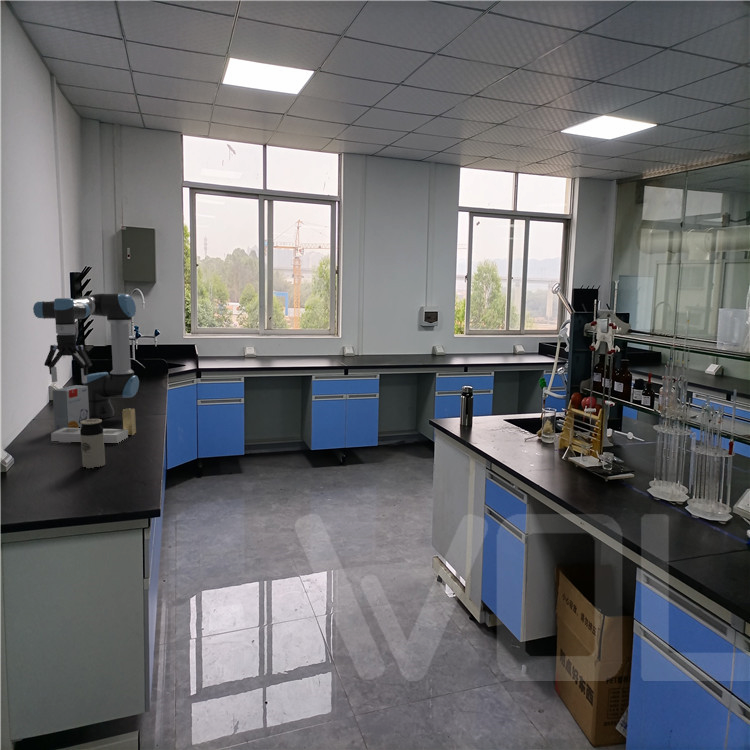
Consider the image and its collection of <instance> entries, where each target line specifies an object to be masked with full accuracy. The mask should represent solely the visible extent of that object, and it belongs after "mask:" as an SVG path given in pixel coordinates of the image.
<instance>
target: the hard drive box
mask: <svg viewBox="0 0 750 750" xmlns="http://www.w3.org/2000/svg"><path fill="white" fill-rule="evenodd" d="M52 402H53V403H52V404H53V420H54V421H53V422H54V432H55V431H57V430H60V429H62V428H79V427H80V428H82V425H81V423H80V422H81V421H83V420H87V419H89V402H88V386H84V385H80V384H79V385H77V384H75V385H71V386H70V385H69V386H66V387H60V388H57V389H53V390H52Z"/></svg>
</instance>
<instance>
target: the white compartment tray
mask: <svg viewBox="0 0 750 750" xmlns="http://www.w3.org/2000/svg"><path fill="white" fill-rule="evenodd" d="M81 428H82V427H80V428H62V429H60V430H57V431H55V430H54V431H53V432H51V433H50V437H51V442H52V441H59V442H58V443H71V442H81V435H80V430H81ZM103 435H104V443H118V444H120V443H122V442H123V441H125V440H127V439H128V438H129V436H128V429H123V428H121V429H120V428H103ZM126 438H127V439H126ZM124 439H125V440H124ZM122 440H123V441H122ZM121 441H122V442H121ZM119 442H120V443H119Z"/></svg>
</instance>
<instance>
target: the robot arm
mask: <svg viewBox="0 0 750 750" xmlns="http://www.w3.org/2000/svg"><path fill="white" fill-rule="evenodd" d="M136 306H137V305H136V303H135V301H134V299H133V297H132V296H131V295H130V294H127V293H96V294H89V295H85V296H84V295H83V296H80V297H79V298H75V299H74V298H68V297H65V298H63V297H62V298H61V297H60V298H58V297H57V298H54V300H52V301H37V302H35V303H33V308H32V309H33V315H34V316H35V317H36V318H37V319H43V320H45V319H54V320H55V333H56V334H57V335H56V343H57V344H51V345H49V346H50V347H49V352H48V353H47V357H46V359H45V362H44V366H45V367H48V369H49V370H48V371H49V375H51V383H57V382H58V372H57V371H58V370H57V366H56V365H57V364H58V362H59V361H60V359H61V358H62V357H63V356H69V357H70V356H71V357H73V358H74V359H75V360H76V362H77V363H78V365H80V367H82V368H80V371H81V372H80V374H81V384H83V386H88V402H89V419H100V418H104V419H108V417H109V418H112V417H115V410H114V408H113V407H114V406H113V405H112V403H111V398H122V399H126V398H133V397H135V396H136V394H137V392H138V390H139V386H140V380H139V377H138V375H135V371H134V370H133V369H132V368H131V367H132V365H131V349H130V348H131V347H130V344H131V343H130V326H129V325H130V323H131V322H132V318H133V317H135V315H136V312H137V311H136V310H137V309H136V308H137V307H136ZM89 316H97V317H106V321H107V322H109V324H110V337H111V339H110V341H111V356H112V357H111V358H112V370H111V371H110V372H107V371H103V372H95V373H89V367H92V366H93V363H92V361H91V360H90V357H89V356H88V355H87V352H86V351H85V346H84V345H83V344H81V345H77V335H76V331H77V329H76V320H83V319H86V318H87V317H89ZM56 352H57V353H56Z"/></svg>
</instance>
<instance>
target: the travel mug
mask: <svg viewBox="0 0 750 750" xmlns="http://www.w3.org/2000/svg"><path fill="white" fill-rule="evenodd" d="M102 422H103V420H102V419H87V420H83V421H81V422H80V423H81V425H82V427H80V428H81V430H80V435H81V443H80V444H81V445H80V446H81V447H80V449H81V460H82V461H81V462H82V464H81V465H82V467H83V468H84V467H86V469H90V468H92V469H95V468H94V467H99V468H101V467H103V466H105V465H106V457H105V456H106V454H105V453H106V452H105V444H104V435H103V429H104V428H103V426H102ZM100 466H101V467H100Z"/></svg>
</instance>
